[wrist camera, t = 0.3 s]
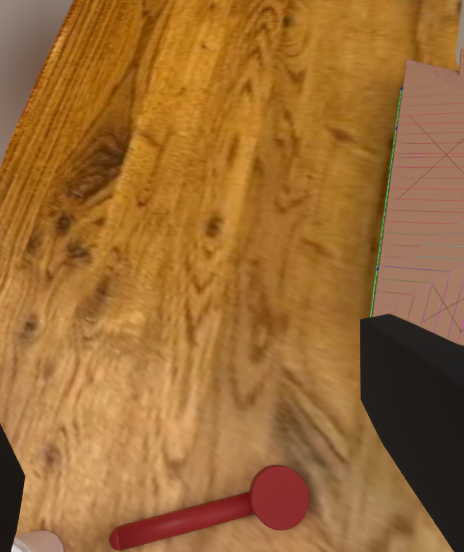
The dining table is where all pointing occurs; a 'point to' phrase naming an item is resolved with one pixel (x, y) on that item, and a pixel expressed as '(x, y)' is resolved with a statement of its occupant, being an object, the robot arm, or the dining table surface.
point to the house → (425, 206)
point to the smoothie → (37, 542)
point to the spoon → (227, 510)
